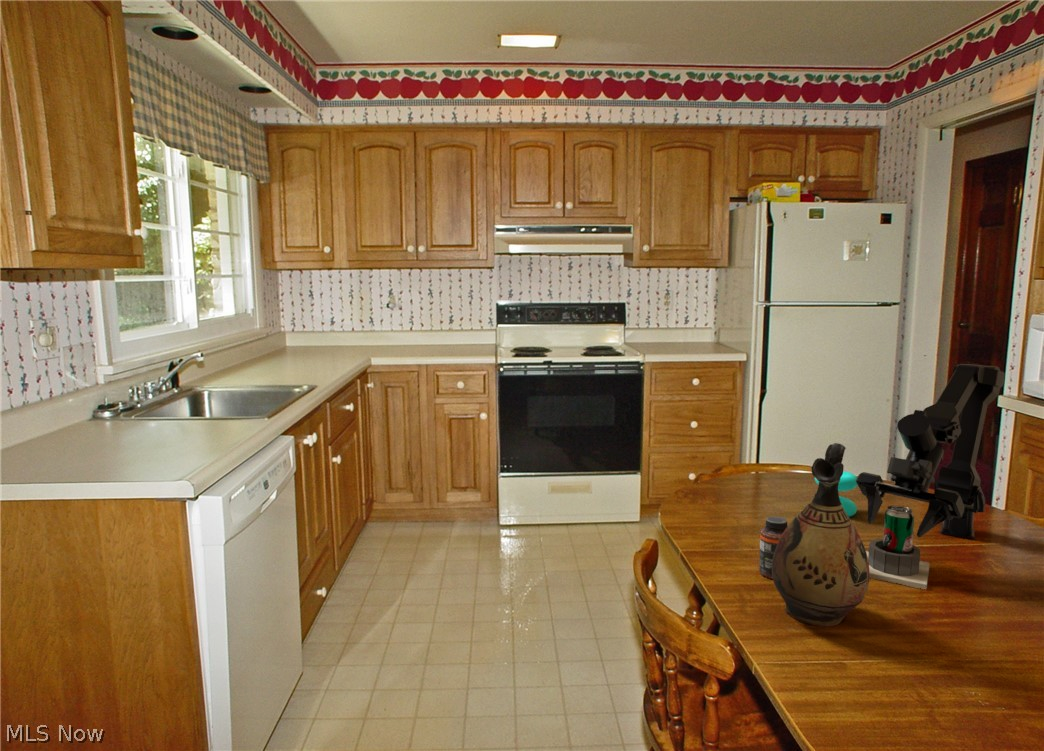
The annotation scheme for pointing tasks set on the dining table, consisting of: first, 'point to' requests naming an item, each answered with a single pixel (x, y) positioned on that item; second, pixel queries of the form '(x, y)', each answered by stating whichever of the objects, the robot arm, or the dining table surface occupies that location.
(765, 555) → the supplement bottle
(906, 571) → the collar socket
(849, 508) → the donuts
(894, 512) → the soda can
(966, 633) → the dining table surface
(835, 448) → the ceramic jug
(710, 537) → the dining table surface
